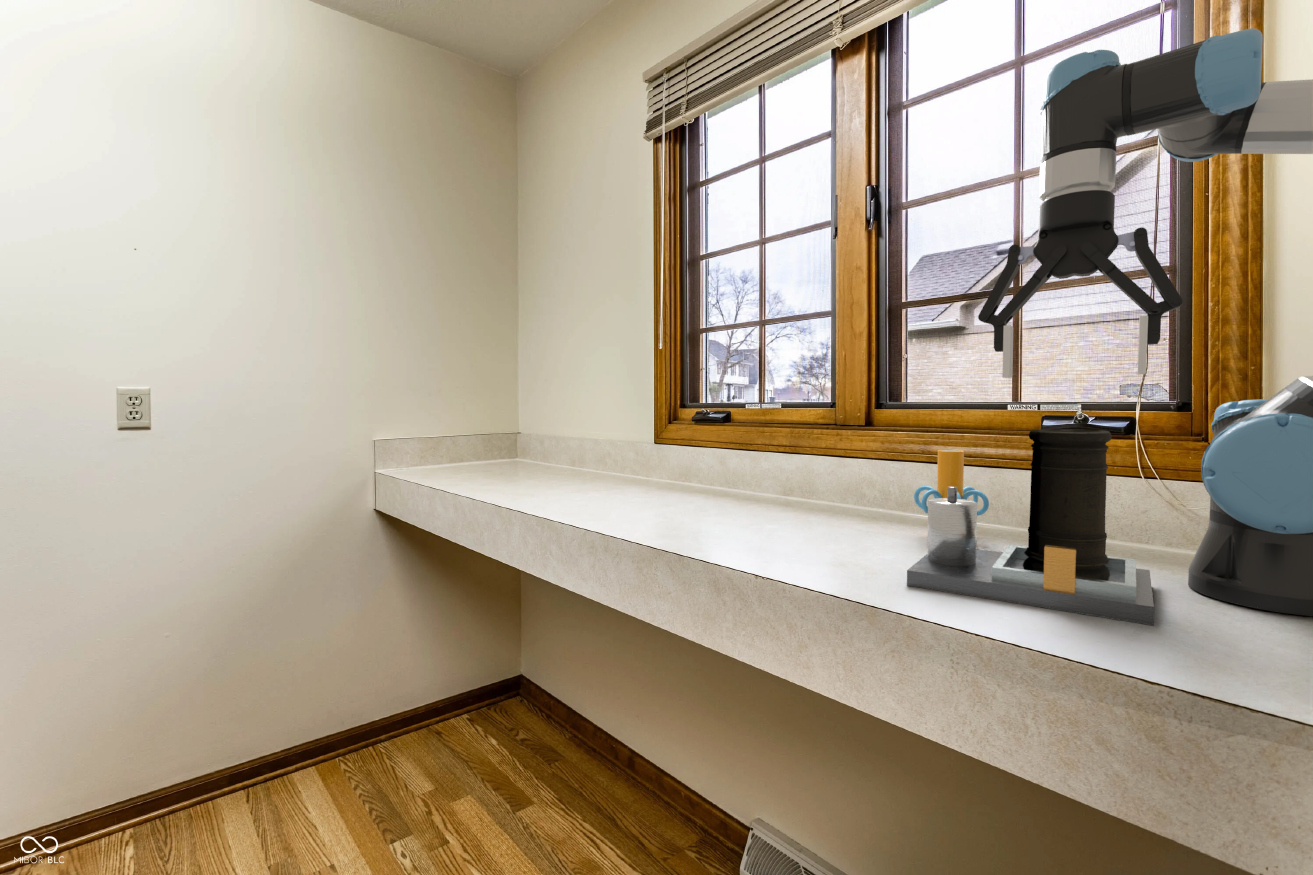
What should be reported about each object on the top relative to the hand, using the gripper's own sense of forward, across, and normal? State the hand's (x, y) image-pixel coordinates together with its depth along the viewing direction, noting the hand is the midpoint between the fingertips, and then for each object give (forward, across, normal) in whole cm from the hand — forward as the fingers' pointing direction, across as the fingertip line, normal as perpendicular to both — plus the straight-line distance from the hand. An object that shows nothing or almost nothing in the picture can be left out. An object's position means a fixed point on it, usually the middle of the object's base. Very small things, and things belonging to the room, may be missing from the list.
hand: (1070, 376), depth 76 cm
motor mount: (+27, +4, 0) cm, 27 cm away
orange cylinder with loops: (+27, +18, -23) cm, 40 cm away
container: (+25, 0, 0) cm, 25 cm away
